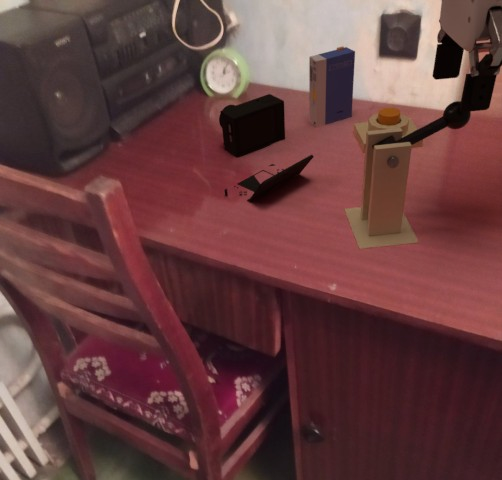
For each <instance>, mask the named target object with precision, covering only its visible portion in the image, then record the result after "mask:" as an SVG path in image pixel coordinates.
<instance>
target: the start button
mask: <svg viewBox="0 0 502 480" xmlns="http://www.w3.org/2000/svg"><path fill="white" fill-rule="evenodd" d="M400 114H401V110H400V109H399V108H395V107H383V108H381V109H379V110H378V123H379V124H381V125H387V126H391V125H396V124H399V121H400Z"/></svg>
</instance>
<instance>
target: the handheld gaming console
mask: <svg viewBox="0 0 502 480" xmlns="http://www.w3.org/2000/svg"><path fill="white" fill-rule="evenodd" d="M313 159H314V155H313V154H310V155H308V156H306V157H305V158H303V159H301V160H299V161H297V162H295V163H293V164H292V165H291V166H288V167H286V168H281V171H280V169H279V168H277V169H276V173H275V174H273V173H271V172H269V171H268V170H265V169H262V170H260V171H258V172H256V173H254V174H253V175H251V176H248V177H246V178H245V179H243V180H241V181H239V182H237V183H236V185H238V186H236V185H234V186H233V187H234V188H235V187H236V189H239V186H240V187H242V188H244V189H246V190H249V191H250V192H252V195H250V198H247V200H246V202H248V203H252V202H253V201H255V200H257V199H259V198H261V197H263V196H264V195H266V194H267V193H270V192H272V191H273V190H274V189H277V188H278V187H280V186H282V185H283V184H285V183H287V182H288V181H291V180H292V179H293V178H295V177H297V176H300V174H301V173H302V172H303V171H304V170H305V168H306V167H307V166H308V164H309V163H310V162H311V161H312V160H313ZM275 166H277V165H276V164H274V163H271V164H269V165H268V167H275ZM262 172H265V173H267V174H269V175H271V176H270V177H269V178H266V179H264V180H263V181H262V182H261V183H260V181H259V180H258V179H257V178H256V175H258V174H260V173H262ZM246 190H245V191H242V190H241V191H239V194H238V195H239V196H240V197H241V196H248V194H247V193H248V191H246ZM243 192H244V194H242V193H243ZM224 195H225V196H226V197H229V194H228V188H225V189H224Z"/></svg>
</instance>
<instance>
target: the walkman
mask: <svg viewBox="0 0 502 480" xmlns="http://www.w3.org/2000/svg"><path fill="white" fill-rule="evenodd" d="M308 60H309V61H308V62H309V64H308V65H309V68H308V69H309V70H308V71H309V73H308V74H309V75H308V76H309V79H308V81H309V82H308V83H309V88H308V89H309V90H308V91H309V92H308V95H309V96H308V97H309V99H308V100H309V101H308V102H309V103H308V104H309V105H308V109H309V111H308V112H309V113H308V115H309V116H308V118H309V119H308V121H309V124H311V126H313V127H314V128H319V127H322V126H325V125H330V124H333V123H336V122H339V121H343V120H346V119H349V118H352V116H353V97H354V82H355V81H354V80H355V61H356V51H355V50H353V49H351V48H349V47H347V46H344V45H343V46H339V47H338V46H337V47H336V49H333V50H329V51H325V52H322V53H318V54H315V55H312V56H309V59H308Z"/></svg>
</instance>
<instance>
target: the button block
mask: <svg viewBox="0 0 502 480" xmlns="http://www.w3.org/2000/svg"><path fill="white" fill-rule="evenodd" d="M378 113H379V112H378ZM378 113H374V114H372V115H371V116H370V117H369V119H368V121H363V122H355V123H353V134H354V136H355V139H356V141H357V142H358V145H359V147H360V149H361V151H362V153H363V154H365V146H366V132H367V131H374V130H384V129H393V128H401V129H402V131H403V134H402V138H403V137H405V136H406V135H408V134H410V133H412V132H414V131H416V130H418V129H419V128H418V127H417V126H416V124H415V123H414V121H413V120H412V118H411V117H407V116H406V115H405V114H402V113H400V121H399V124H396V125H391V126H387V125H381V124H379V123H378ZM423 142H424V139H423V140H421V141H419V142H417V143H415V144H413V145H412V148H414V149H415V148H421V147H423Z"/></svg>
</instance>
